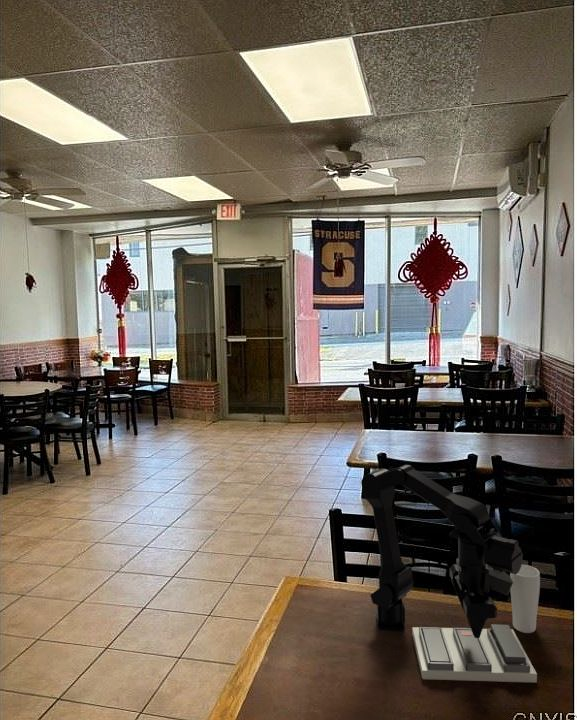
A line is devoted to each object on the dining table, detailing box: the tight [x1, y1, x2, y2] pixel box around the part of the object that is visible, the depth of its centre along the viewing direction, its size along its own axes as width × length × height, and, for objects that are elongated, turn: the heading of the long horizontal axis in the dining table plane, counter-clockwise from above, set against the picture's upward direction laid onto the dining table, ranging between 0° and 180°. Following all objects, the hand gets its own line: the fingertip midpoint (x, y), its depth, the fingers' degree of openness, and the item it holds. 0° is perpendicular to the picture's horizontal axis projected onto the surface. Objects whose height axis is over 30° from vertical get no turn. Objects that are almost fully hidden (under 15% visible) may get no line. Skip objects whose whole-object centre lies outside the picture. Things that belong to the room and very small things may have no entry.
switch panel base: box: [411, 626, 538, 683], centre depth 125 cm, size 24×16×4 cm, turn 85°
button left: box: [422, 628, 450, 663], centre depth 125 cm, size 4×12×2 cm, turn 175°
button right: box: [490, 624, 526, 664], centre depth 123 cm, size 4×12×2 cm, turn 175°
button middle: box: [456, 630, 487, 664], centre depth 124 cm, size 4×12×2 cm, turn 175°
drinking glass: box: [509, 563, 541, 634], centre depth 135 cm, size 7×7×15 cm
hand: (471, 625), depth 124 cm, fingers open, 9 cm apart
